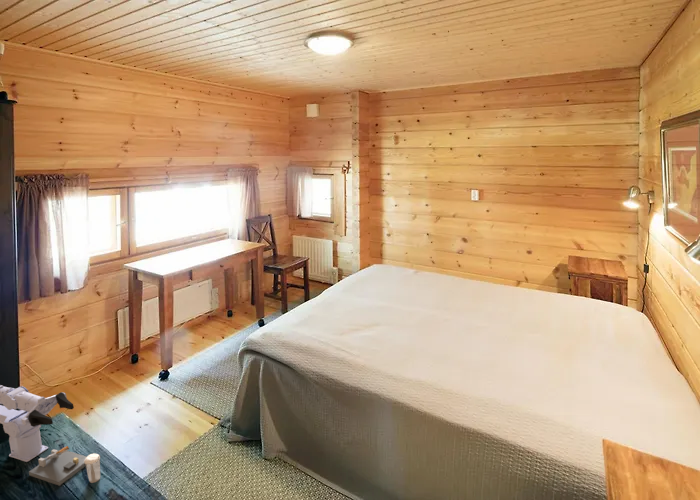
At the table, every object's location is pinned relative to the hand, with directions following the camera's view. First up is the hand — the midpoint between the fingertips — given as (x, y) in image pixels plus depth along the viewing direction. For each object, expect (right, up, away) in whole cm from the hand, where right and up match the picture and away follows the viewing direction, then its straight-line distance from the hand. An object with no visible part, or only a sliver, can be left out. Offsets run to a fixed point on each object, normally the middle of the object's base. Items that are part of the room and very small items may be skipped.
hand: (62, 413), depth 142 cm
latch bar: (-4, -16, +2) cm, 16 cm away
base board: (-3, -20, +3) cm, 21 cm away
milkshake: (+13, -22, -2) cm, 25 cm away
